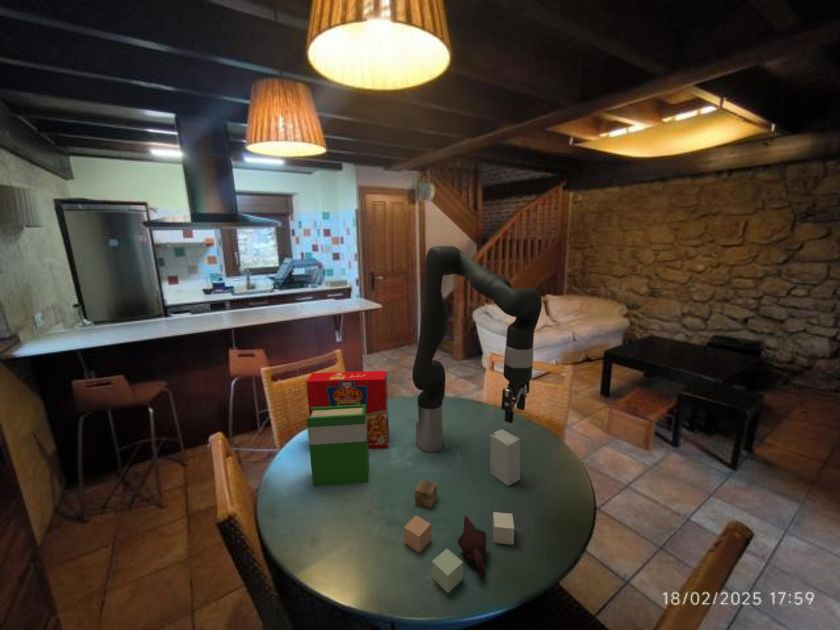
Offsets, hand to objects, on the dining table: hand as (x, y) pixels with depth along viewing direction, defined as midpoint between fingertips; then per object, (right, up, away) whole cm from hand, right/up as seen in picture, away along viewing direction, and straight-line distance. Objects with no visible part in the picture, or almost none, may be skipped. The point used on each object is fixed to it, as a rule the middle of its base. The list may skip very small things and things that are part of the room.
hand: (514, 415), depth 102 cm
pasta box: (-53, -21, +37) cm, 68 cm away
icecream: (-14, -32, -10) cm, 36 cm away
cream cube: (-5, -31, -6) cm, 31 cm away
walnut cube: (-25, -28, +7) cm, 38 cm away
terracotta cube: (-27, -31, -7) cm, 42 cm away
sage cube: (-20, -33, -17) cm, 43 cm away
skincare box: (+1, -25, +17) cm, 30 cm away
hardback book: (-53, -26, +19) cm, 61 cm away
